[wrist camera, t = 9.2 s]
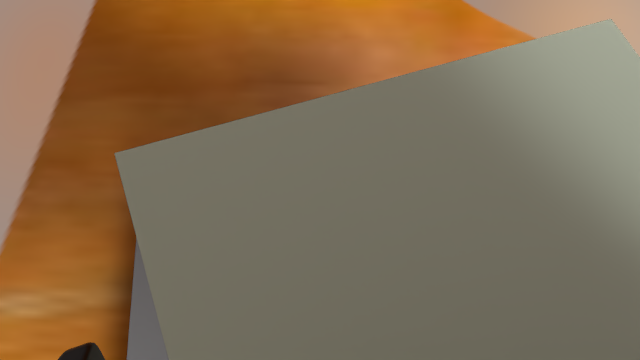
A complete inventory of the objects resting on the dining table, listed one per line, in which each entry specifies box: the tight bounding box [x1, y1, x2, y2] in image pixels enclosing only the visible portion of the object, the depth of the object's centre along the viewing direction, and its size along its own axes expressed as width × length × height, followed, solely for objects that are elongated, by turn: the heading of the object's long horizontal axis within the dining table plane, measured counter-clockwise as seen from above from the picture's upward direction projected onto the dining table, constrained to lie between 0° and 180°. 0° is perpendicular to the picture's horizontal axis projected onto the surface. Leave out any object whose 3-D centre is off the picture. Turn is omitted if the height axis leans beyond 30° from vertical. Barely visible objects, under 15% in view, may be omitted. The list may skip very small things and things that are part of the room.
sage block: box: [114, 19, 640, 360], centre depth 9 cm, size 5×5×13 cm
